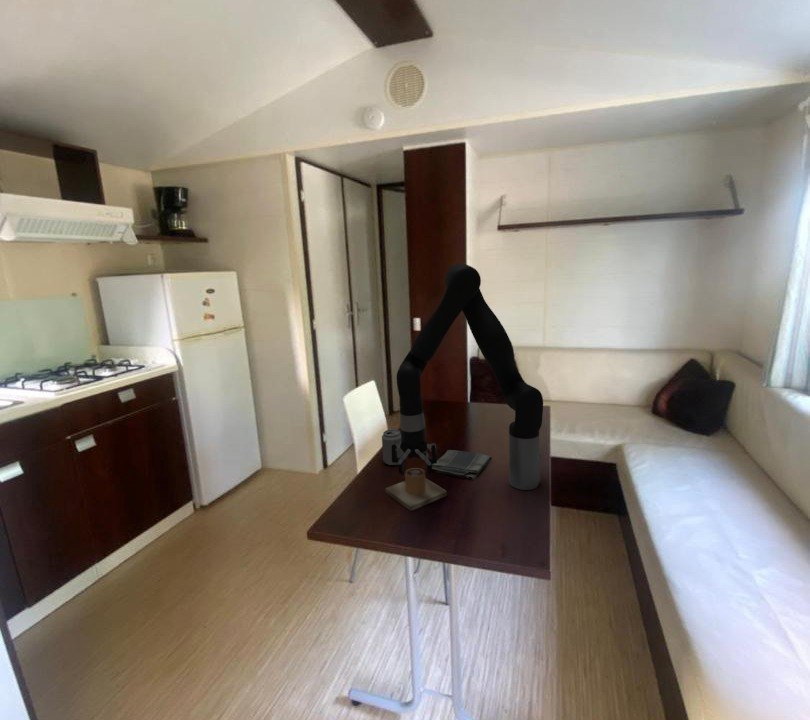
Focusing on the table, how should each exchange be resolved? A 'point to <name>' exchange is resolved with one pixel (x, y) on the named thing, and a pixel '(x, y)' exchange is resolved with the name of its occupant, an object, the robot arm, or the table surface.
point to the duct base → (416, 501)
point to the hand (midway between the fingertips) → (415, 474)
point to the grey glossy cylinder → (414, 473)
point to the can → (390, 445)
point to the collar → (415, 482)
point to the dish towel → (461, 463)
